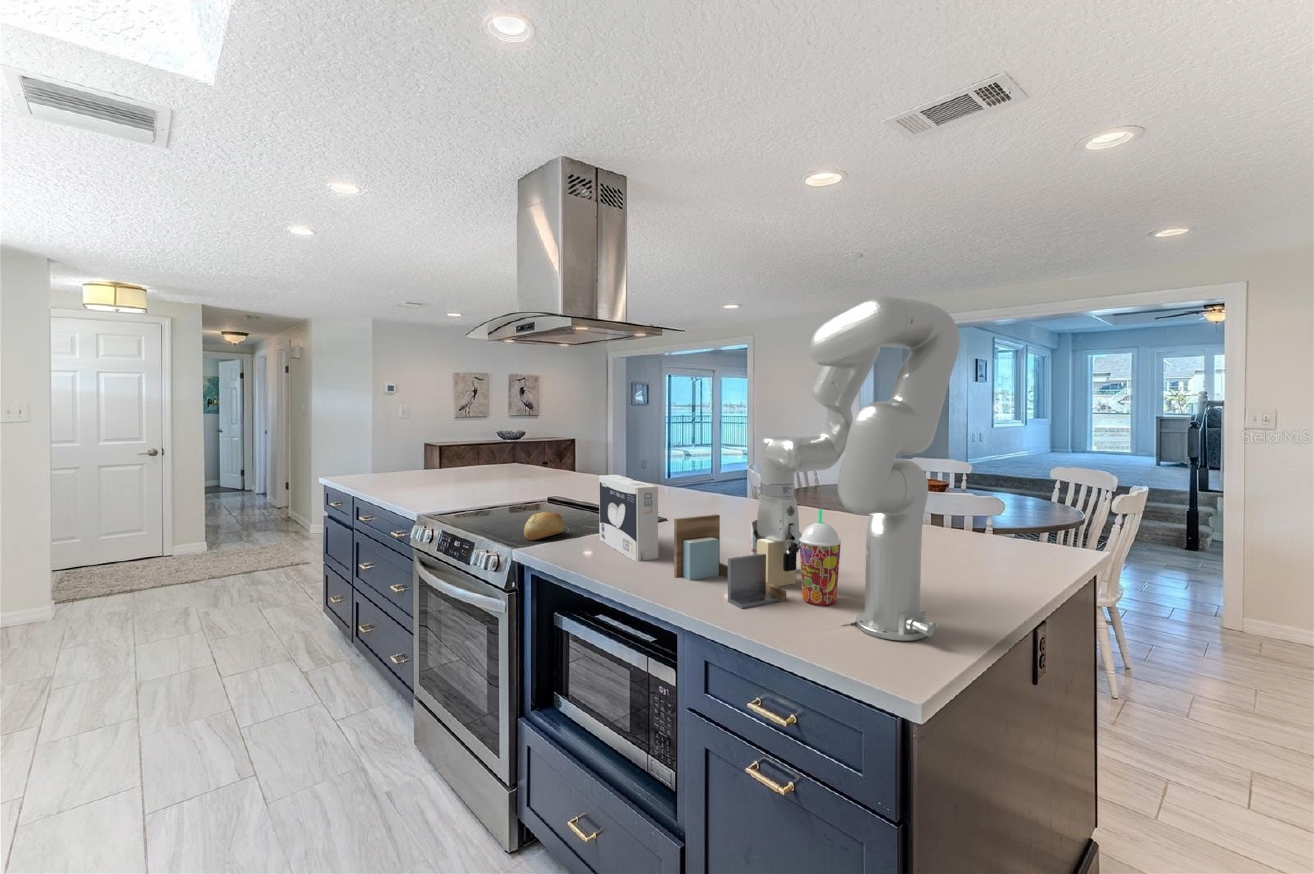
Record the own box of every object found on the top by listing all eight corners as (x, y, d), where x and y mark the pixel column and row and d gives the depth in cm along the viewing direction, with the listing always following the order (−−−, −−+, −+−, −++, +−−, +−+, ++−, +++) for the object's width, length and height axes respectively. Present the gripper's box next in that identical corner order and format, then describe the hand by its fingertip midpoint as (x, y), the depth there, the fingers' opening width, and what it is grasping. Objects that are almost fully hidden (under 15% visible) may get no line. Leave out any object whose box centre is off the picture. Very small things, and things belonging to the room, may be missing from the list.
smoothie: (790, 601, 126) (791, 507, 124) (823, 596, 128) (824, 505, 127) (814, 614, 118) (815, 514, 117) (848, 609, 121) (850, 511, 120)
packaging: (599, 539, 183) (598, 475, 182) (617, 537, 186) (617, 474, 185) (637, 563, 156) (637, 487, 155) (658, 560, 159) (658, 486, 157)
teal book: (718, 576, 141) (718, 539, 141) (689, 581, 138) (689, 542, 137) (711, 573, 144) (712, 536, 144) (683, 577, 140) (683, 540, 140)
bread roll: (572, 534, 191) (572, 510, 191) (539, 543, 179) (538, 517, 178) (551, 531, 197) (550, 507, 196) (517, 539, 184) (516, 514, 184)
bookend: (777, 601, 123) (778, 558, 122) (741, 608, 118) (742, 564, 118) (762, 594, 127) (763, 553, 126) (727, 601, 123) (727, 558, 122)
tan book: (795, 586, 136) (796, 539, 135) (767, 591, 132) (768, 542, 131) (784, 582, 139) (785, 535, 139) (756, 587, 136) (757, 539, 135)
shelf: (786, 604, 123) (786, 535, 122) (738, 614, 118) (738, 541, 117) (716, 572, 147) (716, 514, 146) (674, 579, 141) (674, 518, 141)
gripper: (816, 494, 128) (814, 572, 129) (766, 484, 144) (765, 554, 145) (788, 497, 125) (787, 577, 126) (741, 486, 140) (740, 558, 141)
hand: (776, 564), depth 135 cm, fingers open, 9 cm apart
